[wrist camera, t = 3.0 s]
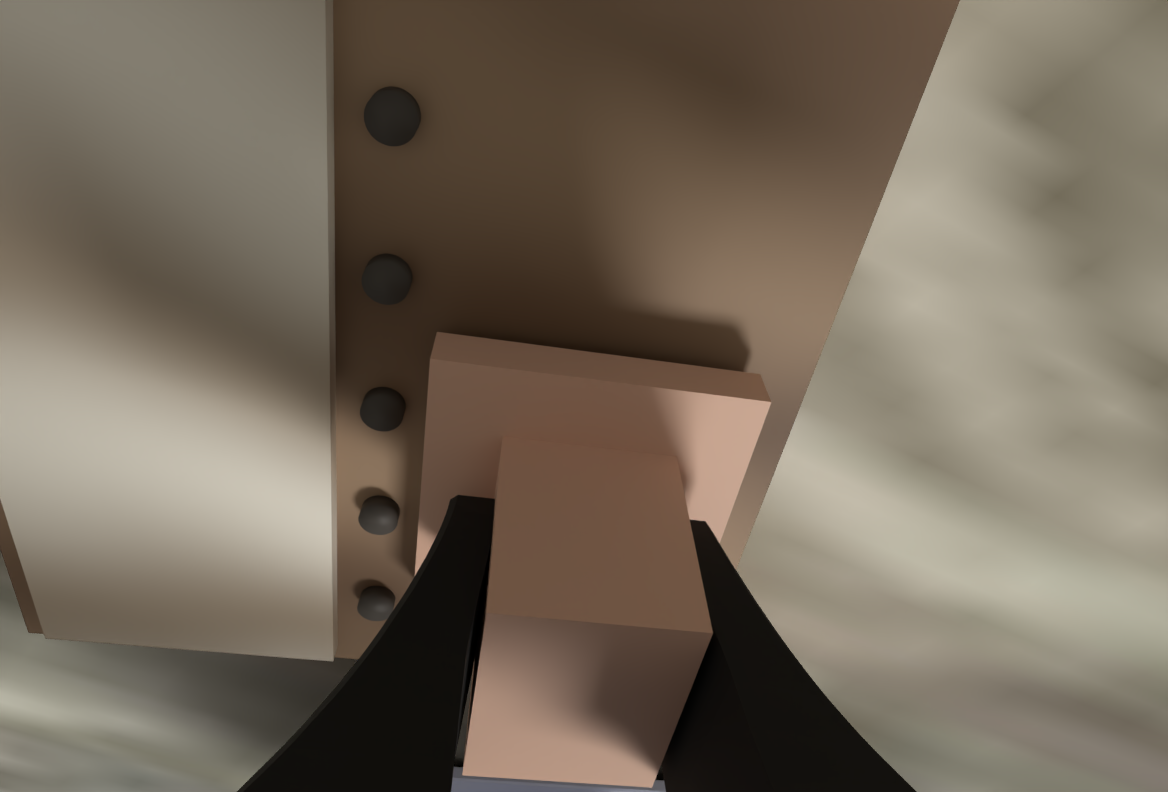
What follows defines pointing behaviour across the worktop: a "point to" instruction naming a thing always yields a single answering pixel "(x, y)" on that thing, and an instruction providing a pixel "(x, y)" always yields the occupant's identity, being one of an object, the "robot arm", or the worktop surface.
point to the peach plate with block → (584, 543)
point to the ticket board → (387, 265)
